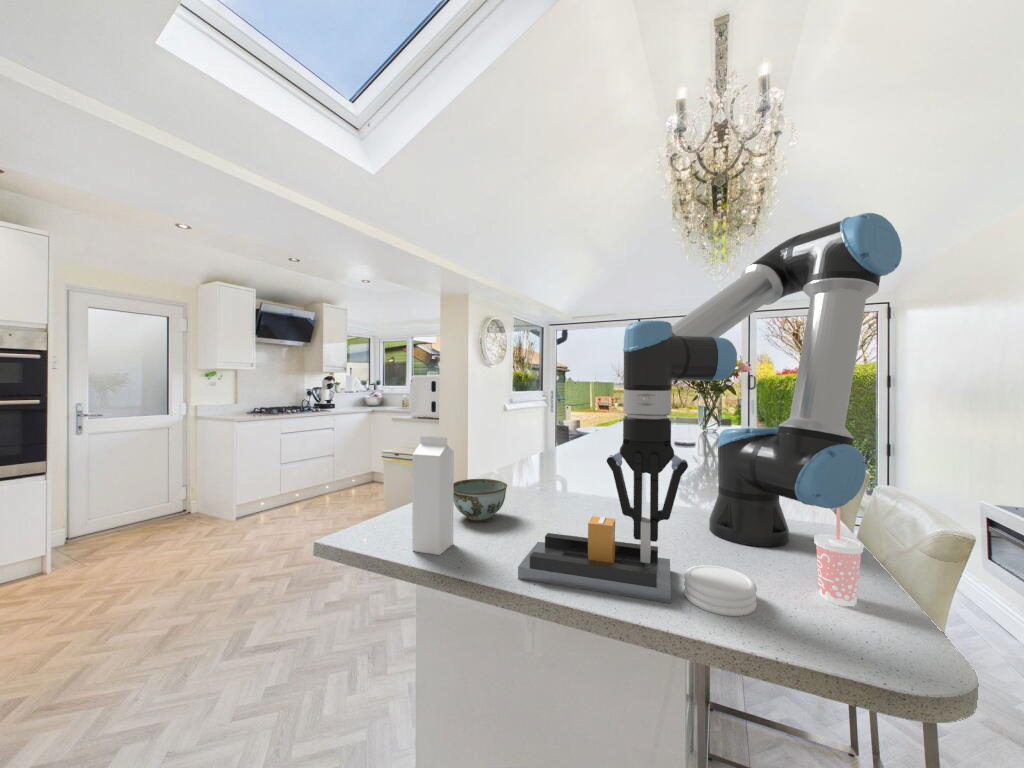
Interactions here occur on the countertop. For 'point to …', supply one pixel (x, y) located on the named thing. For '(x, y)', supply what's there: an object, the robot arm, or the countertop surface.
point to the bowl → (479, 498)
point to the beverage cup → (838, 566)
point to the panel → (600, 583)
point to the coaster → (720, 590)
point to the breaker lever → (601, 539)
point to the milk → (432, 496)
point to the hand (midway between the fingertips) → (645, 559)
